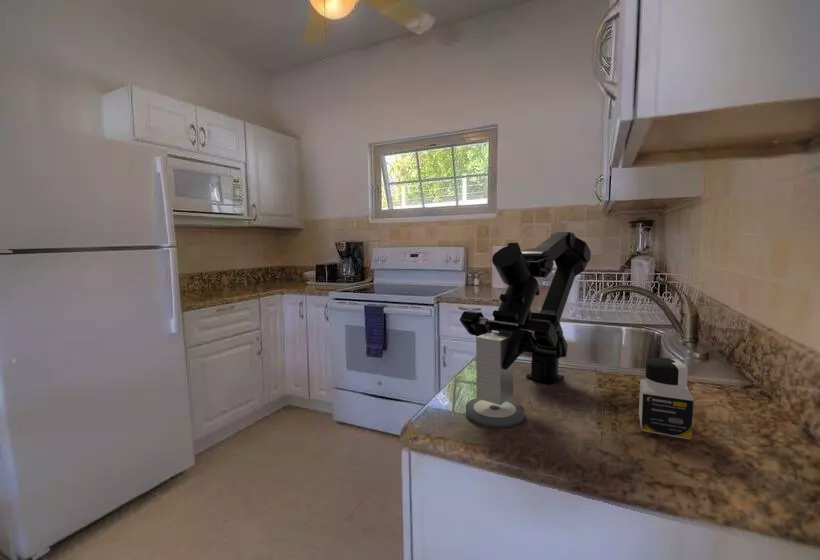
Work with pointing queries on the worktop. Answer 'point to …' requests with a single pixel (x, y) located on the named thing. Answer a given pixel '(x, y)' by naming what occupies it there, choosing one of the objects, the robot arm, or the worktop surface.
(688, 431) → the medicine bottle
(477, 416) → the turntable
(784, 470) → the worktop surface
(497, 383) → the block
